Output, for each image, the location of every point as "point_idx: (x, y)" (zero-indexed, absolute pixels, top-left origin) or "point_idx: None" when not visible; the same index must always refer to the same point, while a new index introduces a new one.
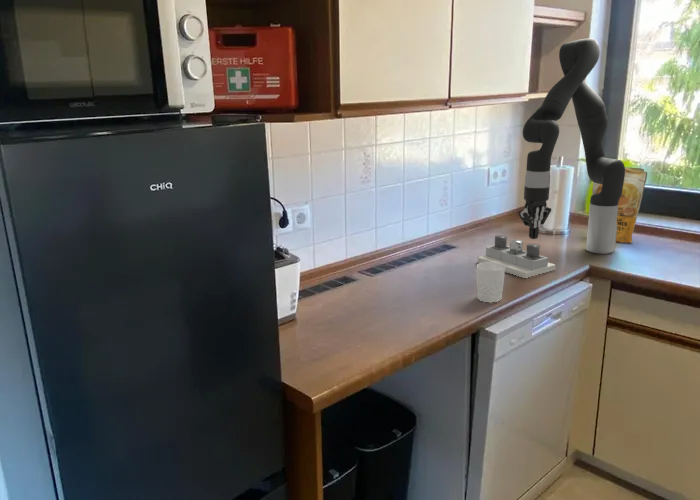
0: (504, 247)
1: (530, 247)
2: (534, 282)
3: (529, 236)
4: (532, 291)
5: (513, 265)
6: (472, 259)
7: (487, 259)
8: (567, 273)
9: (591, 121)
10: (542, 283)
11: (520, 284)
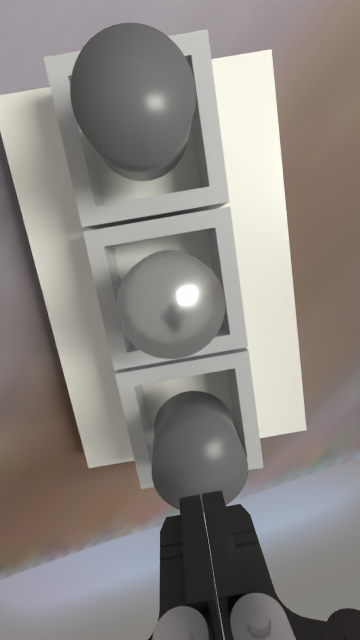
0: (145, 179)
1: (155, 488)
2: (103, 496)
3: (166, 524)
4: (30, 568)
5: (104, 349)
6: (13, 28)
7: (26, 179)
8: (311, 464)
9: None
10: (126, 517)
11: (32, 493)
